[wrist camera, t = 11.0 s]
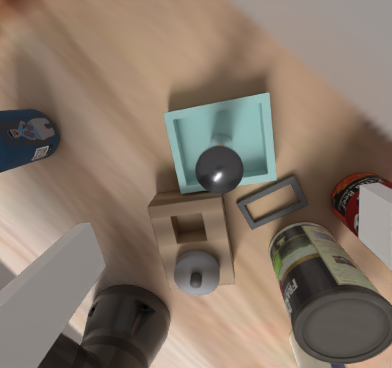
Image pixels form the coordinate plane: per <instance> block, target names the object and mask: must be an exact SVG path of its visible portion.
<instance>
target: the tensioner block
mask: <svg viewBox="0 0 392 368" xmlns="http://www.w3.org/2000/svg"><path fill="white" fill-rule="evenodd" d="M147 208H148V212H149V215H150V219H151V222H152V226H153V230H154V233H155V237H156V241H157V244H158V248H159V251H160V255H161V259H162V262H163V266H164V269H165V273H166V277H167V280H168V284H169V288H170V289H181V290H182V291H184V292H186V293H188V294H191V295H196V296H201V295H206V294H209V293H211V292H212V291H214V290H215V289H216V288H217V286H219V285H231V284H235V275H234V263H233V257H232V250H231V244H230V238H229V232H228V226H227V220H226V214H225V208H224V202H223V196H222V193H221V194H218V193H212V192H209V191H207V190H205V191H198V192H191V193H184V194H181V191H180V190H178V191H171V192H165V193H158V194H156V195H155V197H154V198H153V200H152V201H151V203H150V204H149V206H148V207H147Z"/></svg>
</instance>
